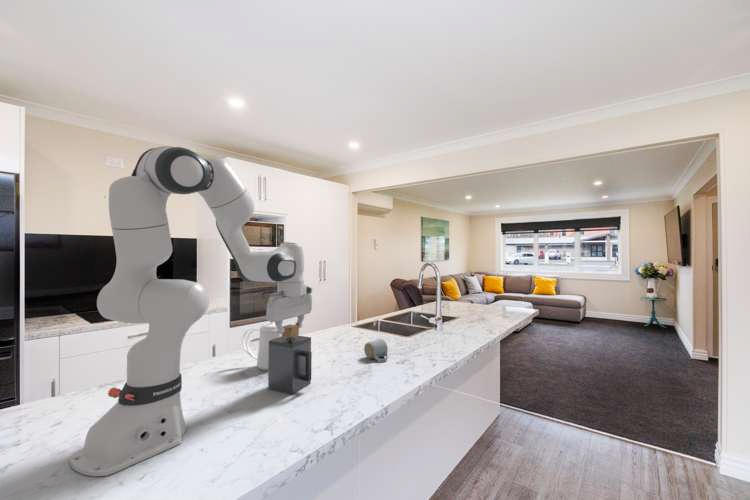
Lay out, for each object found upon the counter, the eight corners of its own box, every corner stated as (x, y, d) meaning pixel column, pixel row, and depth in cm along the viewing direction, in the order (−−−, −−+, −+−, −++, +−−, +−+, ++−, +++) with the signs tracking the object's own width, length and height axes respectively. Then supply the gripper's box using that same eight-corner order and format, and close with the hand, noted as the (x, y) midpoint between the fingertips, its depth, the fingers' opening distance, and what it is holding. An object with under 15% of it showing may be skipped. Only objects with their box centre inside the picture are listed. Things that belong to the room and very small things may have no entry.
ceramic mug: (362, 356, 147) (363, 339, 147) (377, 353, 152) (378, 336, 152) (376, 364, 138) (377, 345, 138) (392, 360, 143) (392, 342, 143)
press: (300, 396, 106) (301, 345, 106) (268, 389, 112) (268, 340, 112) (318, 385, 115) (318, 338, 115) (287, 379, 121) (288, 334, 121)
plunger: (291, 387, 110) (292, 329, 110) (275, 383, 112) (275, 327, 113) (304, 380, 116) (304, 325, 116) (288, 377, 119) (288, 323, 119)
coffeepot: (298, 372, 127) (298, 323, 127) (235, 369, 130) (236, 321, 130) (307, 363, 138) (307, 317, 138) (249, 360, 140) (249, 316, 141)
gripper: (277, 293, 104) (276, 338, 103) (315, 288, 122) (314, 325, 122) (261, 292, 106) (261, 336, 106) (301, 287, 125) (300, 324, 125)
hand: (290, 330), depth 114 cm, fingers open, 8 cm apart
